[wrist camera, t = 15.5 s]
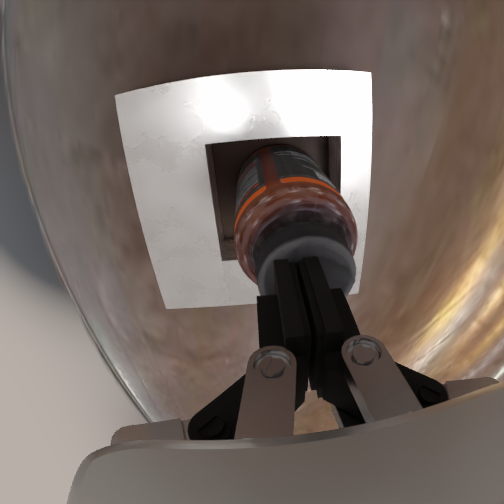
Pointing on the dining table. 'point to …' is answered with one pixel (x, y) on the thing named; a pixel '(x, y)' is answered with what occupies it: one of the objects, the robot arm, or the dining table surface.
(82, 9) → the dining table surface
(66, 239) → the dining table surface
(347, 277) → the supplement bottle
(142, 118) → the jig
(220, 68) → the dining table surface
